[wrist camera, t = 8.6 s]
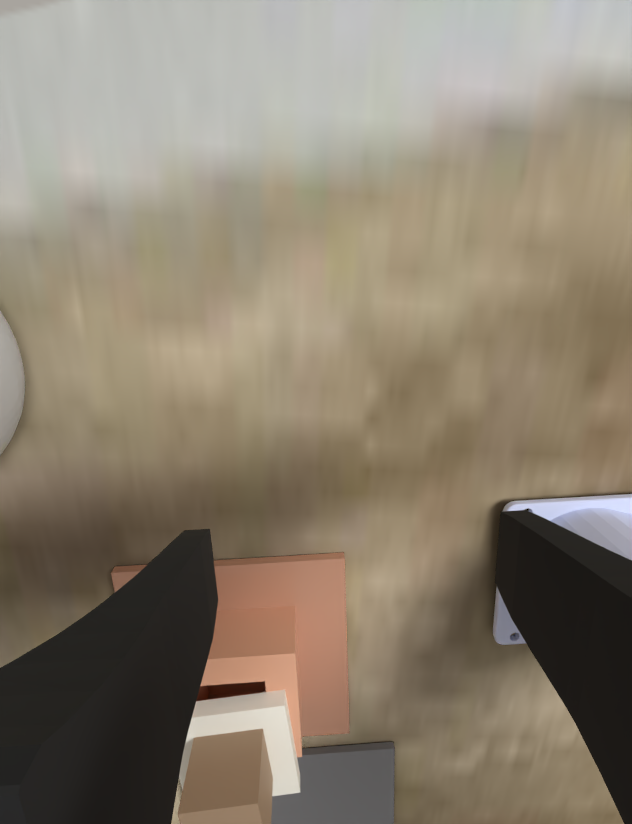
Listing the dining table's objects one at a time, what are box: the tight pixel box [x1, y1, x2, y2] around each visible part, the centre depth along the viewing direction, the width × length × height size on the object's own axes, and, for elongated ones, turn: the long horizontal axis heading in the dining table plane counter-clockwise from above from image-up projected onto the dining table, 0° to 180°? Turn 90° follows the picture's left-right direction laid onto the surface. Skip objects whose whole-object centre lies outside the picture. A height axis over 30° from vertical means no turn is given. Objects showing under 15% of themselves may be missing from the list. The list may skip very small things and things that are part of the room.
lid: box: [178, 690, 300, 824], centre depth 20 cm, size 5×5×4 cm
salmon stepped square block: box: [111, 552, 349, 757], centre depth 23 cm, size 11×11×4 cm
